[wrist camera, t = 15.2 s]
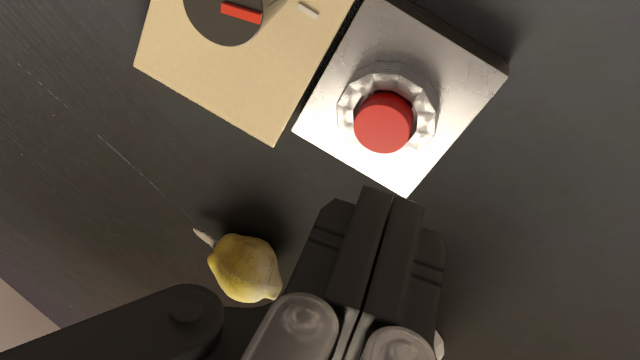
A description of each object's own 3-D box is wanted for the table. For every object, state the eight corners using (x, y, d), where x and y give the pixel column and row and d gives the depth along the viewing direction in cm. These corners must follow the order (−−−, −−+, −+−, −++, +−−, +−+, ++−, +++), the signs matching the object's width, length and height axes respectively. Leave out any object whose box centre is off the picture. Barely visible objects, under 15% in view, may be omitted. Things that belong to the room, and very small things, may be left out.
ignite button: (376, 81, 35) (370, 94, 33) (424, 110, 35) (420, 124, 34) (349, 122, 37) (343, 135, 36) (395, 149, 37) (390, 163, 36)
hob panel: (212, -162, 32) (191, -158, 30) (385, -54, 33) (377, -42, 31) (149, 52, 43) (131, 67, 41) (283, 131, 43) (272, 149, 41)
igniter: (376, -21, 35) (363, 0, 32) (509, 62, 35) (509, 90, 32) (299, 116, 42) (282, 144, 39) (410, 182, 43) (402, 214, 40)
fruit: (204, 199, 50) (299, 249, 49) (207, 230, 55) (294, 277, 54) (165, 248, 47) (266, 303, 46) (173, 276, 52) (264, 327, 51)
